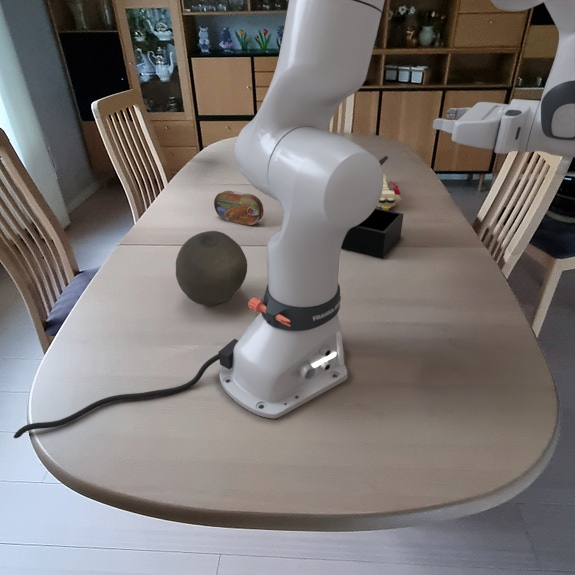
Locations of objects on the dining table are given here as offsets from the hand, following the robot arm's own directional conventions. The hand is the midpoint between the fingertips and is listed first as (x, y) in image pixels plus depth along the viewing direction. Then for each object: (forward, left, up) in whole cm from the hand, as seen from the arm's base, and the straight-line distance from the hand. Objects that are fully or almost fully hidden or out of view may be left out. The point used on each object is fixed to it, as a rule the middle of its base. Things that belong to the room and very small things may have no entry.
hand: (441, 117), depth 89 cm
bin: (-2, +15, -32) cm, 35 cm away
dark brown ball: (-44, +22, -32) cm, 59 cm away
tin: (-15, +48, -32) cm, 60 cm away
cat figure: (+26, +28, -32) cm, 50 cm away
